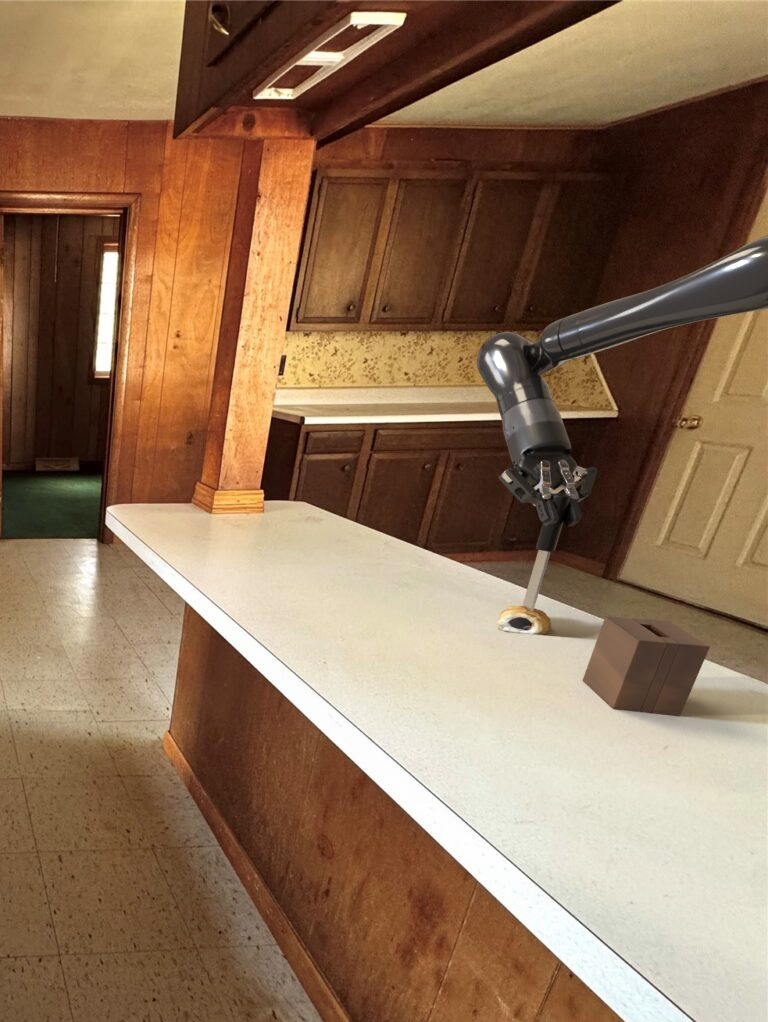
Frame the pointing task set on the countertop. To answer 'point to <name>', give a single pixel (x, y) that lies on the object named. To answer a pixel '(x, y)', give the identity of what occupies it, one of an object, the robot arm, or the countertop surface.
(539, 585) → the knife
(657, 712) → the knife block
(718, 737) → the countertop surface
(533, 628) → the pastry
